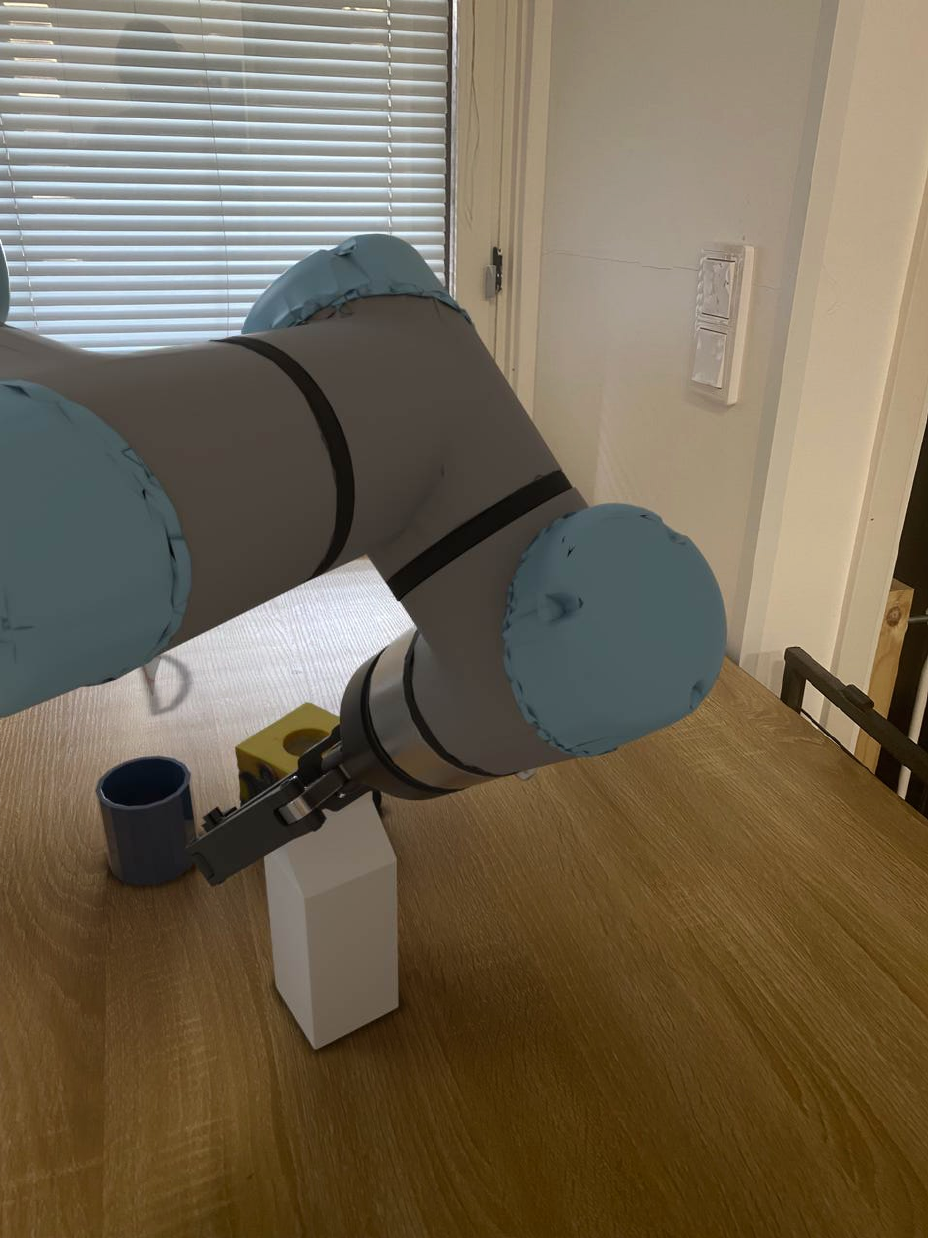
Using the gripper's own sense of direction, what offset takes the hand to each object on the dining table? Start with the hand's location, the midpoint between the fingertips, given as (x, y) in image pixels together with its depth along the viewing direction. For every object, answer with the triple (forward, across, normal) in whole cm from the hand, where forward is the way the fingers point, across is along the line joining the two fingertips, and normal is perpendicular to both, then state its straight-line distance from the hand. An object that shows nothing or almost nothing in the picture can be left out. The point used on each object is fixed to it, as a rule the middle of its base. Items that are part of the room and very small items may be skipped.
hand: (305, 773), depth 59 cm
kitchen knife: (+61, +12, +17) cm, 64 cm away
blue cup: (+34, -6, 0) cm, 34 cm away
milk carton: (+16, -4, -17) cm, 23 cm away
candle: (+32, +8, -6) cm, 33 cm away
